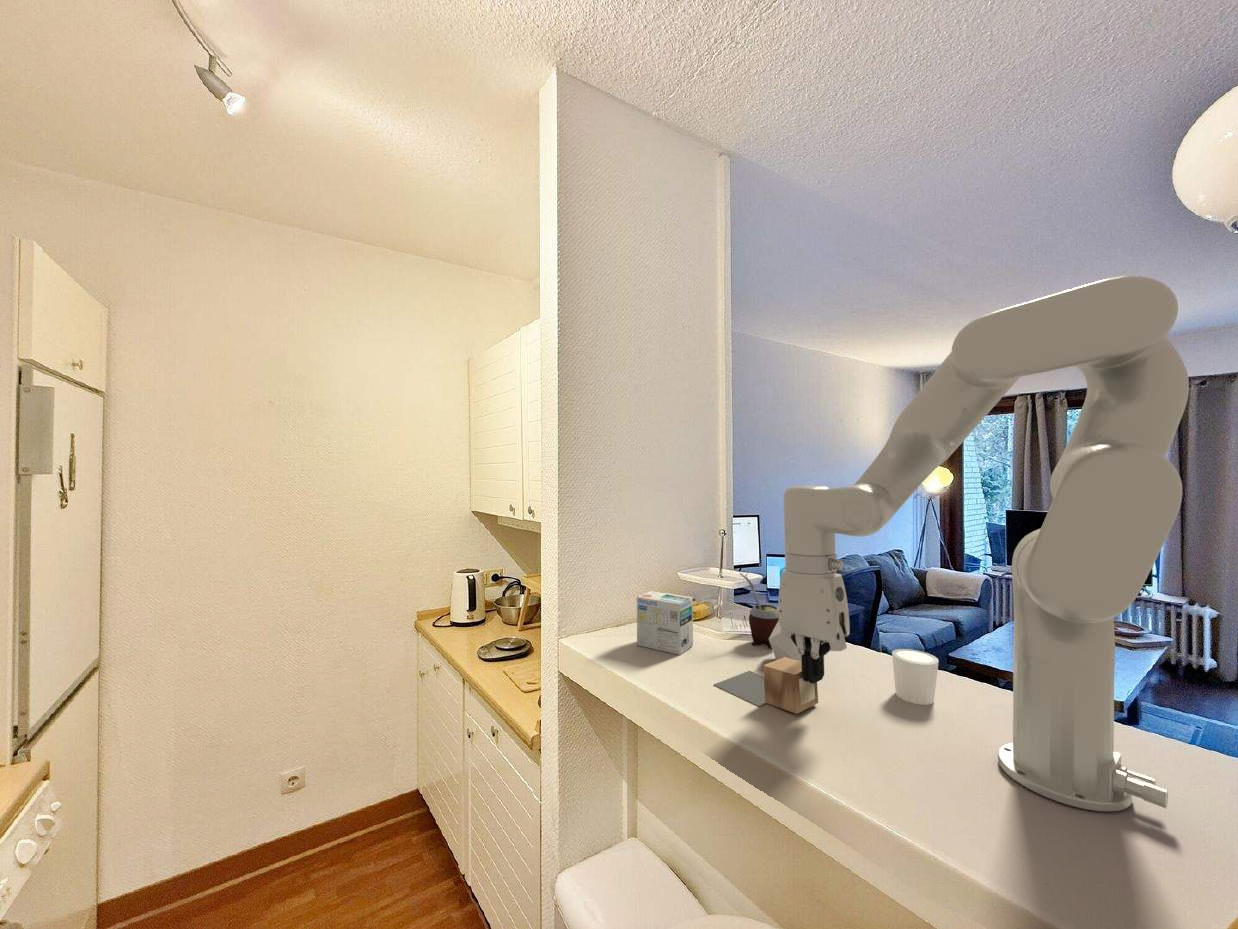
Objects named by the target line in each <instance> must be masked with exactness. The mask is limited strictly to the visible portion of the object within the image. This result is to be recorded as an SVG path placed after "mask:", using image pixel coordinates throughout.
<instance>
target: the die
mask: <svg viewBox="0 0 1238 929" xmlns="http://www.w3.org/2000/svg"><path fill="white" fill-rule="evenodd" d="M769 642H770V644H771V647H772V649H771V651H772V652H773V654H774V658H775V661H776V660H778V659H781V658H784V657H787V658H790V659H794V660H798V661H801V662H802V660H801V655H800V654H799V653H798V650H797V646H796V645H795V644H794V642H793V641H792V639H789V638H787V637H786V636H784V635H782V634H781V627H780V624H779V621H778V622H777V624H776V626H775V628H774V630H773V632H772V634H771V636H770V637H769Z"/></svg>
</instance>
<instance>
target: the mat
mask: <svg viewBox="0 0 1238 929" xmlns="http://www.w3.org/2000/svg"><path fill="white" fill-rule="evenodd" d="M713 686H715V687H716V688H719V689H721V690H723V691H725V692H727V693H728V694H732V695H734V696H735V697H738V698H740V699H742V700H744V701H745V702H749V703H750V704H753V705H754V706H755V707H756V706H757V707H759V708H761V707H762V706H764V705H766V704H768V703H766V702H765V687H764V675H762V674H759V673H757V672H754V671H751V670H748V671H744V672H743V673H740V674H737V675H734V676H732V677H730V678H727V679H724V680H721V681H718V682H716V683H714V684H713Z"/></svg>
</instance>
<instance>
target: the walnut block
mask: <svg viewBox="0 0 1238 929" xmlns="http://www.w3.org/2000/svg"><path fill="white" fill-rule="evenodd" d="M762 669H763V676H764V687H765V702H766V703H767V704H768V705H771V706H773V707H777V708H779V709H782V710H784V711H788V712H791V713H793V714H796V715H797V714H800V713H802V712H804V711H805V710H807V709H809V708H811V707H813V706H816V705H818V704H819V696H818V695H819V694H818V692H819V691H818V682H816V683H814V684H812V683H809V681H808V682H806V681H804V680H803V671H802V662H801V661H798V660H794V659H790V658H787V657H784V658H781V659H778V660H776V659H775V660H774V661H771V662H768V663H766V664H763V668H762Z"/></svg>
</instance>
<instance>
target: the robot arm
mask: <svg viewBox="0 0 1238 929" xmlns="http://www.w3.org/2000/svg"><path fill="white" fill-rule="evenodd" d="M1178 312H1179V304H1178V299H1177V296H1176V294H1175V293H1174V291H1173V290H1172V289H1171V288H1170V287H1169V286H1168V285H1166V284H1165V283H1163V282H1162V281H1159V280H1157V279H1155V278H1152V277H1148V276H1142V275H1141V276H1140V275H1124V276H1123V275H1122V276H1115V277H1110V278H1106V279H1102V280H1098V281H1095V282H1092V283H1088V284H1084V285H1081V286H1078V287H1074V288H1072V289H1067V290H1063V291H1061V292H1058V293H1054V294H1051V295H1047V296H1044V297H1041V298H1037V299H1034V300H1030V301H1028V302H1023V303H1021V304H1020V303H1019V304H1016V305H1013V306H1010V307H1006V308H1003V309H999V310H995V311H993V312H989V313H987V314H984V315H980V316H979V317H977V318H975V319H973V320H972V321H970V322H969V323H967V324H966V325H965V326H964V327H962V328H961V330H959V332H958V333H957V335H956V337H955V338H954V340H953V343H952V345H951V351H950V353H949V354H948V355H947V356H946V358H945V359H944V360H943V361H942V362H941V364H940V365H939V366H938V367H937V369H936V370H935V372H934V373H933V374H932V376H931V375H930V378H929V379H928V380H927V381H926V383H925V384H924V385H923V386H922V387H921V389H920V390H919V391H918V392H917V394H915V396H914V397H913V398H912V399H911V400H910V401H909V402H908V404H907V405H906V406H905V408H904V409H903V410H902V411H901V412H900V414H899V415H898V417H897V418H896V421H895V422H894V424H893V426H892V429H891V432H890V435H889V437H888V439H887V440H886V443H885V444H884V446H883V447H882V449H881V450H880V452H879V453H878V455H877V456H876V458H874V460H873V461H872V463H870V465H869V466H868V467H867V468H866V470H865V471H864V472H863V473H862V475H861V476H859V478H858V480H857V481H856V482H855V483H854V484H853V485H848V486H844V487H841V486H840V487H835V488H834V487H832V488H830V487H828V486H825V485H796V486H795V485H794V486H790V487H788V488H786V489H785V491H784V493H783V523H784V524H783V530H784V531H783V532H784V564H785V565H784V569H783V570H782V572H781V576H780V581H779V589H778V605H777V608H778V618H779V624H780V627H781V634H782V635H784V636H786V637H787V638H789V639H792V641H793V642H794V644H795V645H796V646H797V650H798V653H799V654H800V655H801V660H802V671H803V680H804V681H806V682H808V681H809V683H812V684H814V683H816V682H817V683H818V682H821V681H822V680H823V678H824V676H825V656H826V655H828V653H829V652H842V651H844V650H846V649H847V648H848V647H847V643H846V639H845V638H847V637H849V635H850V631H851V629H850V628H851V627H850V625H851V624H850V613H849V612H850V611H849V605H848V598H847V597H848V596H847V591H846V587H845V583H844V579H843V576H842V574H841V573H837V571H838V570H843V569H844V564H845V563H844V561H843V560H839V559H837V558H838V556H837V554H836V534H839V535H845V536H849V537H859V538H862V537H863V538H864V537H869V536H872V535H874V534H876V533H878V532H879V531H881V529H882V528H883V527H885V525H886V524H888V523H889V522H890V521H891V519H892V518H893V517H894V516H895V514H896V513H897V512H898V511H899V510H900V509H901V508H902V506H904V505H905V503H906V502H907V500H909V498H910V497H911V496H912V495H913V494H914V493H915V492H916V491H917V489H918V488H919V487H920V486H921V485H922V484H923V482H924V481H925V480H926V479H928V477H929V476H930V475H931V474H933V472H934V471H935V470H936V469H938V467H940V466H941V465H942V464H943V463H945V462H946V461H947V460H948V459H949V458H950V457H951V455H952V454H953V453H954V452H956V450H957V449H958V448H959V447H960V445H962V444H963V442H964V441H965V440H966V439H967V437H969V435H970V434H971V433H972V432H973V431H974V430H975V429H976V427H977V426H978V425H979V424H981V421H982V420H983V419H984V418H986V416H987V415H988V414H989V413H990V411H991V410H992V409H993V408H994V407H995V406H996V405H997V404H998V403H999V402H1000V400H1002V398H1003V397H1004V396H1005V395H1006V393H1008V391H1009V390H1010V389H1011V388H1012V387H1013V386H1014V385H1015V384H1016V382H1018V380H1019V379H1020V378H1022V377H1026V376H1031V375H1035V374H1041V373H1046V372H1047V373H1048V372H1051V371H1056V370H1061V369H1064V368H1070V367H1073V366H1075V367H1077V368H1078V370H1080V371H1081V372H1082V374H1083V376H1084V378H1085V381H1086V394H1085V395H1086V396H1085V400H1084V402H1083V405H1082V408H1081V410H1080V412H1079V415H1078V418H1077V421H1076V423H1075V426H1074V429H1073V430H1072V432H1071V435H1070V437H1069V439H1068V442H1067V444H1066V446H1065V448H1064V451H1063V453H1062V454H1061V457H1060V458H1059V461H1058V463H1057V464H1056V466H1055V467H1054V469H1053V471H1052V473H1051V476H1050V481H1049V488H1050V493H1051V496H1052V498H1053V499H1052V501H1051V504H1050V505H1049V506H1050V507H1049V508H1048V512H1047V513H1046V516H1045V518H1044V521H1043V522H1042V525H1041V527H1040V528H1038V529H1036V530H1033V531H1032V532H1030V533H1028V534H1026V535H1024V537H1023V538H1022V539H1021V540H1020V541H1019V542H1018V544H1017V546H1015V549H1014V551H1013V555H1012V562H1011V578H1012V580H1011V581H1012V599H1013V658H1012V659H1013V662H1012V664H1013V665H1012V666H1013V677H1012V678H1013V680H1012V682H1013V684H1012V688H1013V689H1012V692H1013V693H1012V698H1013V699H1012V700H1013V701H1012V703H1013V704H1012V742H1011V743H1007V744H1004V745H1002V746H1001V747H1000V748H999V749H998V752H997V759H998V762H997V763H998V764H999V766H1000V768H1002V770H1003V771H1004V772H1005V773H1006V775H1008V776H1009V777H1010V778H1011V779H1013V780H1014V781H1016V782H1017V783H1018V784H1020V785H1021V786H1023V787H1025V788H1026V789H1028V790H1031V791H1032V792H1034V793H1036V794H1038V795H1040V796H1043V797H1044V798H1047V799H1050V800H1053V801H1055V802H1058V803H1060V804H1064V805H1066V806H1071V807H1074V808H1078V809H1082V810H1087V811H1094V812H1107V813H1108V812H1109V813H1111V812H1119V811H1123V810H1127V808H1129V807H1130V806H1131V804H1132V802H1133V797H1136V798H1139V799H1142V800H1143V802H1147V803H1150V804H1153V805H1155V806H1158V807H1159V808H1163V809H1167V808H1168V803H1169V792H1168V789H1165V788H1162V787H1159V786H1156V784H1157V779H1156V778H1154V777H1151V776H1148V775H1145V774H1142V773H1138V772H1136V771H1132V770H1129V769H1128V767H1127V766H1125V765H1122V754H1121V753H1120V752H1118V751H1114V741H1115V740H1114V739H1115V738H1114V737H1115V735H1114V734H1115V733H1114V732H1115V728H1114V727H1115V721H1114V720H1115V666H1116V643H1115V642H1116V639H1115V638H1116V636H1115V635H1116V634H1115V623H1114V620H1115V619H1114V618H1116V617H1118V616H1120V615H1121V614H1123V613H1124V612H1125V611H1126V610H1127V609H1128V608H1129V607H1130V606H1131V605H1132V604H1133V603H1134V601H1135V600H1136V598H1137V597H1138V596H1139V594H1140V592H1141V590H1142V589H1143V587H1144V584H1145V582H1146V581H1147V579H1148V577H1149V574H1150V573H1151V571H1152V569H1153V567H1154V565H1155V562H1156V561H1157V558H1158V557H1159V555H1160V553H1161V550H1162V548H1163V546H1164V544H1165V542H1166V540H1167V538H1168V536H1169V534H1170V532H1171V530H1172V527H1173V526H1174V523H1175V521H1176V519H1177V517H1178V514H1179V512H1180V509H1181V505H1182V500H1183V483H1182V479H1181V476H1180V473H1179V472H1178V469H1177V468H1176V467H1175V466H1174V464H1172V462H1171V461H1170V460H1169V459H1168V458H1167V455H1168V452H1169V450H1170V448H1171V445H1172V443H1173V440H1174V438H1175V436H1176V433H1177V430H1178V428H1179V425H1180V422H1181V420H1182V418H1183V416H1184V412H1185V409H1186V406H1187V403H1188V400H1189V399H1188V397H1189V392H1190V391H1189V390H1190V383H1189V382H1190V381H1189V380H1190V379H1189V375H1188V370H1187V368H1186V366H1185V363H1184V361H1183V358H1182V357H1181V355H1180V354H1179V352H1178V351H1177V349H1176V347H1175V346H1174V345H1173V344H1172V342H1170V340H1169V339H1168V338H1167V337H1166V336H1167V334H1169V332H1170V330H1171V329H1172V328H1173V327H1174V324H1175V322H1176V321H1177V318H1178Z"/></svg>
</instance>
